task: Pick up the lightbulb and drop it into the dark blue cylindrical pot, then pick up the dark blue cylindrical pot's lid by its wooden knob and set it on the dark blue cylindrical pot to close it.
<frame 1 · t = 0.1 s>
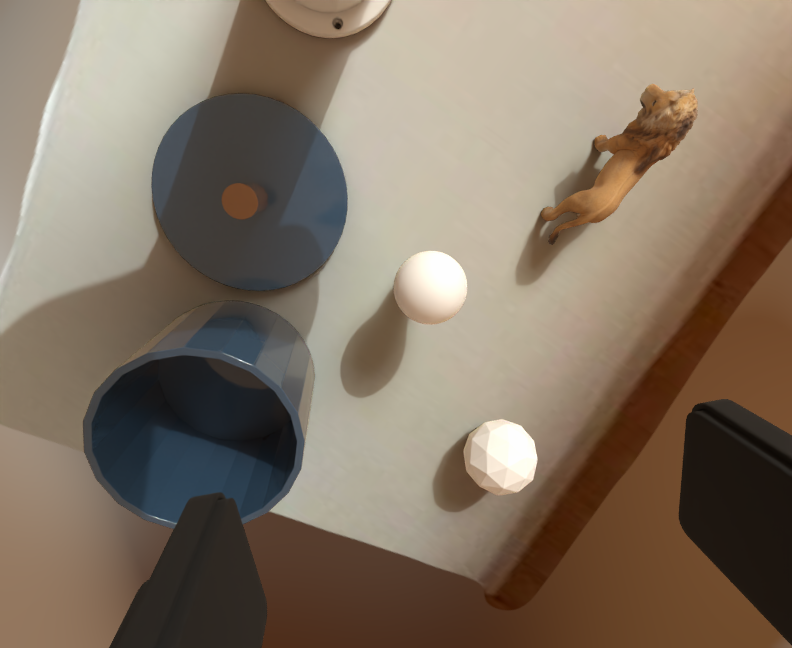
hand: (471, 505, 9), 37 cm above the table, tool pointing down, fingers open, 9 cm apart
lightbulb: (416, 268, 45), on the table
lid: (253, 198, 41), point 1 cm above the table
geometric ball: (489, 436, 52), on the table
dark blue cylindrical pot: (236, 375, 47), on the table
lion figurine: (587, 169, 44), on the table
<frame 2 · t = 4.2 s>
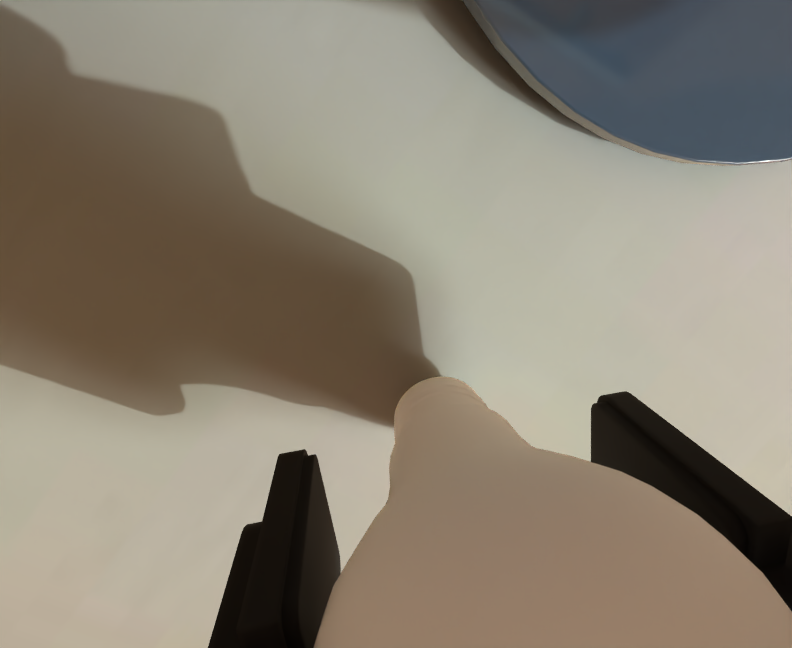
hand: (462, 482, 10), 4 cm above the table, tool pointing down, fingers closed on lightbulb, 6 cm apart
lightbulb: (432, 400, 13), on the table, touching gripper
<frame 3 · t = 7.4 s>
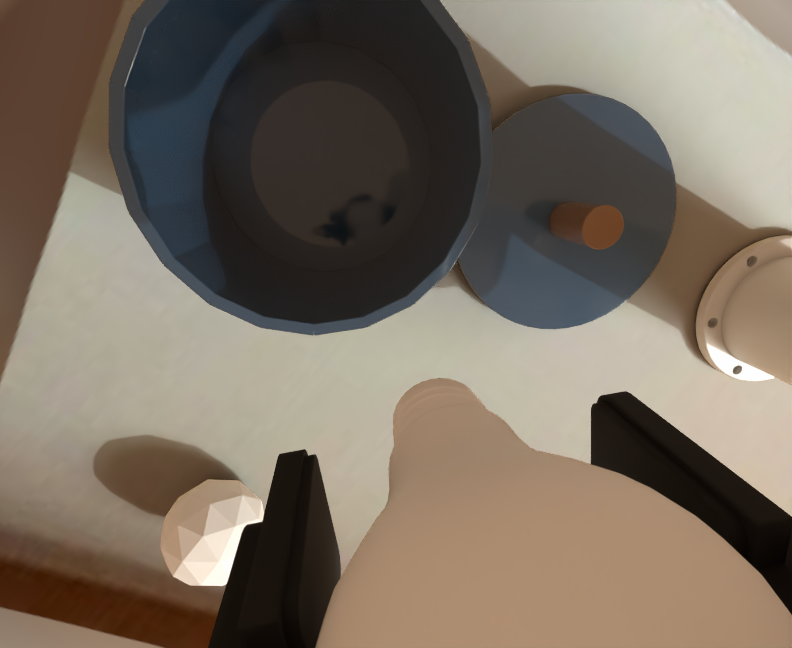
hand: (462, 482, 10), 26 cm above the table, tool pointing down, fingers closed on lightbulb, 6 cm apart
lightbulb: (430, 402, 13), point 22 cm above the table, touching gripper
lid: (563, 219, 34), point 1 cm above the table
geometric ball: (228, 497, 39), on the table
dark blue cylindrical pot: (324, 164, 31), on the table
when the fingers open (14 cm above the table, at t = 11.1 s): lightbulb drops 9 cm, resting on dark blue cylindrical pot.
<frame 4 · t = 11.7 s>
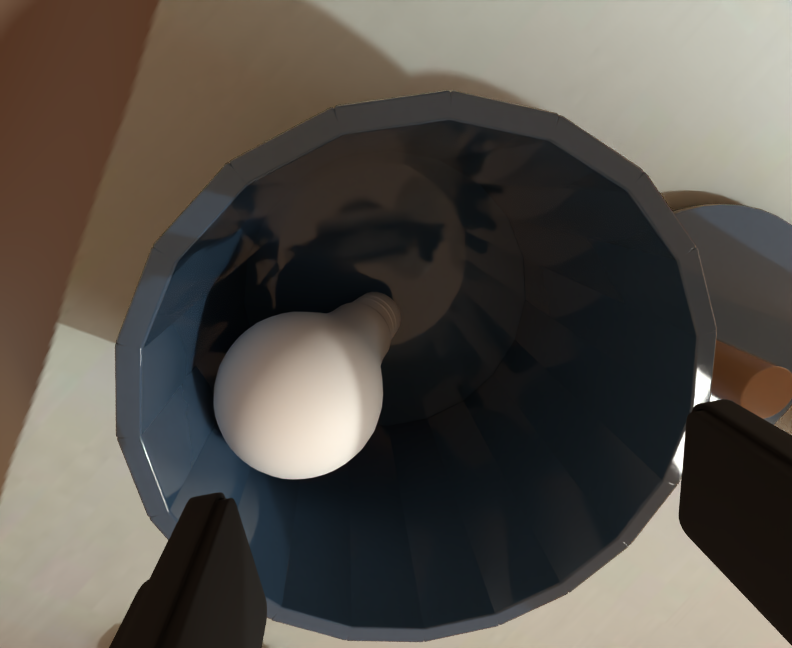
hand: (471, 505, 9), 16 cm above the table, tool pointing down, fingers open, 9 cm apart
lightbulb: (385, 306, 24), point 1 cm above the table, touching dark blue cylindrical pot
lid: (684, 350, 27), point 1 cm above the table
dark blue cylindrical pot: (388, 298, 24), on the table
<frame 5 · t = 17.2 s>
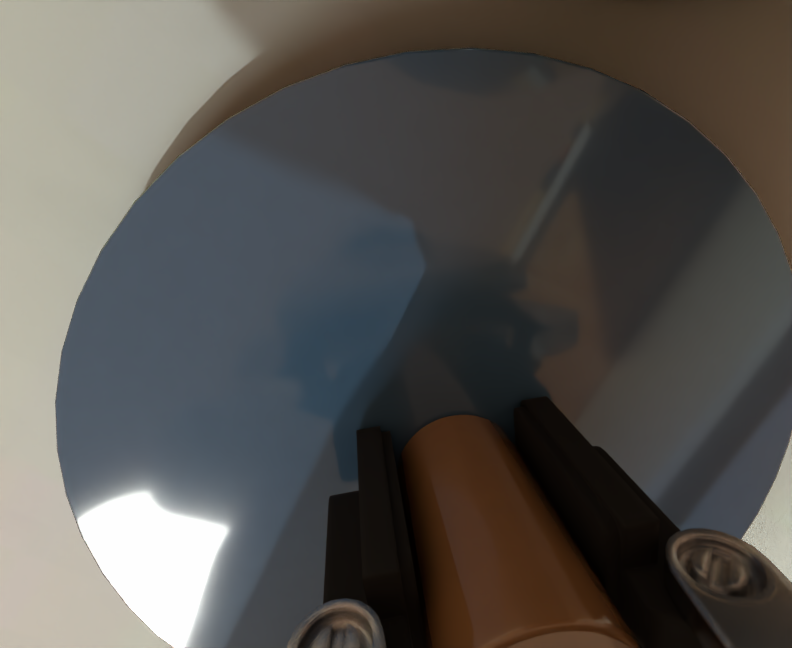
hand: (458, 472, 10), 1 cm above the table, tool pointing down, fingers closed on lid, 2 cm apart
lid: (450, 451, 11), point 1 cm above the table, touching gripper
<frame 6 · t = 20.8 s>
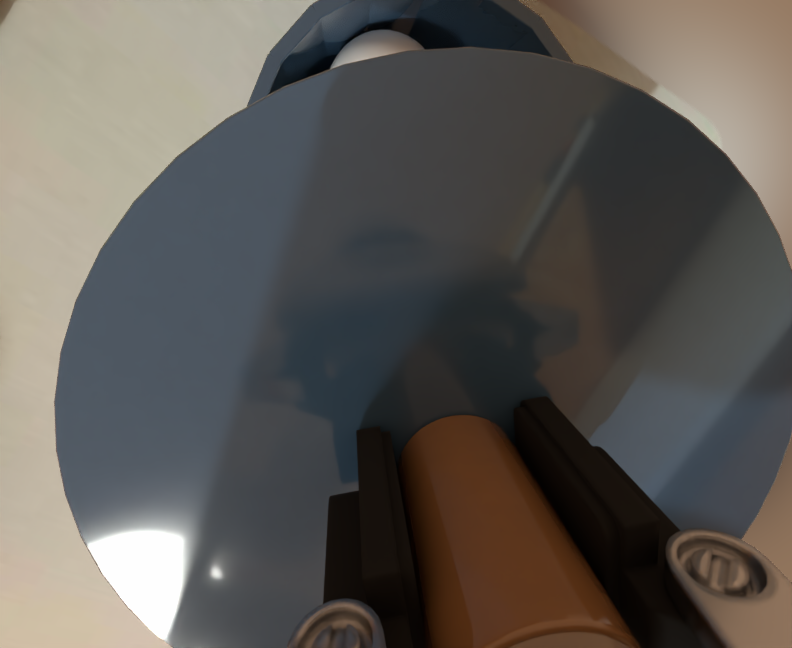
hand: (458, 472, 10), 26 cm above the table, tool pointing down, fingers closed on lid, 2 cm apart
lightbulb: (393, 176, 32), point 1 cm above the table, touching dark blue cylindrical pot
lid: (450, 451, 11), point 25 cm above the table, touching gripper
dark blue cylindrical pot: (394, 180, 33), on the table
when the fingers open (14 cm above the table, at t = 24.3 s): lid stays where it is, resting on dark blue cylindrical pot.
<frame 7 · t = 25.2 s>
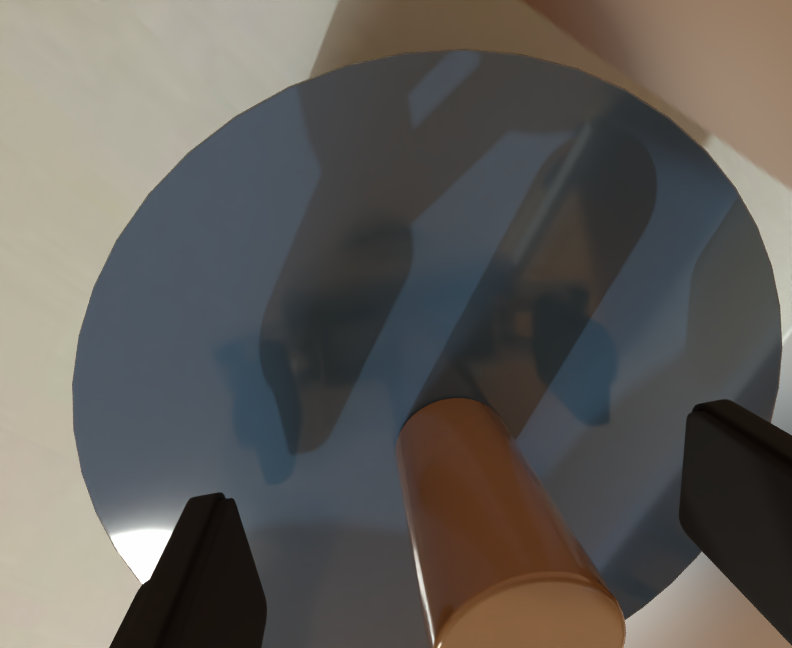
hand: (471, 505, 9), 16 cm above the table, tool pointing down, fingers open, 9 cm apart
lid: (446, 434, 11), point 13 cm above the table, touching dark blue cylindrical pot
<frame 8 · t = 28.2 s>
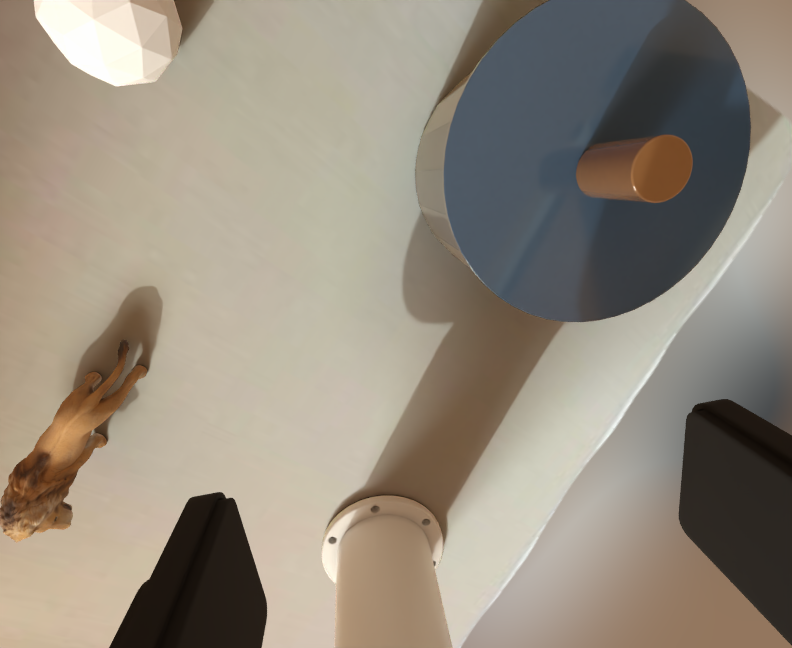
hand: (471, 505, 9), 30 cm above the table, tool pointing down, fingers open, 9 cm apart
lid: (594, 171, 25), point 13 cm above the table, touching dark blue cylindrical pot
geometric ball: (139, 33, 31), on the table
dark blue cylindrical pot: (511, 173, 37), on the table
lion figurine: (104, 413, 40), on the table
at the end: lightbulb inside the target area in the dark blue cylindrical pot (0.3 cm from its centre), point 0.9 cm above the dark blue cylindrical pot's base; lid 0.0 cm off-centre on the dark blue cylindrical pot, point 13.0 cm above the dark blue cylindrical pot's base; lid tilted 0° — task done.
